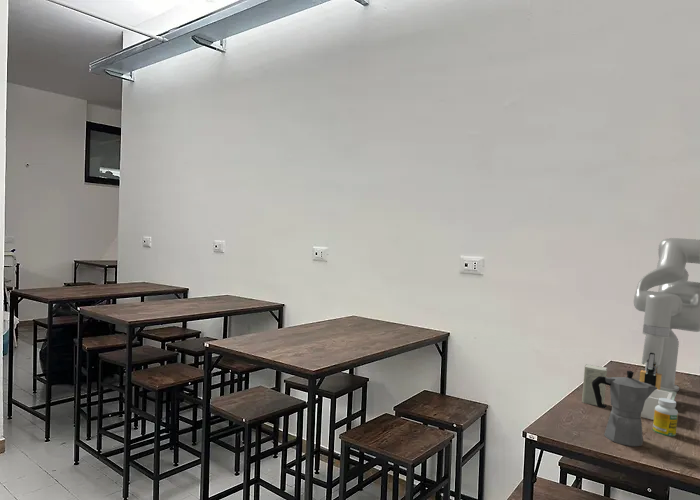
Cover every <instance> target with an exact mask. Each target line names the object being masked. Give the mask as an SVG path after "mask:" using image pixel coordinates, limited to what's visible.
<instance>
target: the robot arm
mask: <svg viewBox="0 0 700 500" xmlns="http://www.w3.org/2000/svg"><path fill="white" fill-rule="evenodd" d="M657 250H658V262H657V266H656V268H655V269H653V270H651V271H650V272H648V273H647V274H645V275H644V276H643V277H641V278H640V280H639V281H638V284H637V286H636V289H635V293H634V295H633V296H634V298H633V306H634V308H635V310H637V311H639V312H642V313H644V317H643V325H642V334H643V335H645V338H644V342H643V343H644V344H643V350H642V358H641V359H642V360H641V364H642V365H645V368H644V371H646V373H645V380H644V383H647V384H651V385H653V386H655V385H656V376H655V375H656V373H659V374H662V379H661V388H660V389H664V390H669V391H674V392H676V393H677V392H679V391H680V387H679V386H678V385H677V384H675V383H676V382H675V381H676V373H677V364H678V353H679V347H680V345H679V344H680V342H679V339H678V336H677V335H676V334H675V332H674V331H673V330H680V331H687V332H693V333H698V332H700V282H697V281H689V276H690V275H689V272H688V270H687V269H686V266H687V265H686V264H699V265H700V239H696V238H695V239H694V238H680V237H679V238H678V237H677V238H676V237H673V238H672V237H670V238H665V239H663V240H661V241H660V242H659V245H658V249H657ZM658 286H659V287H658ZM654 287H658V291H654V290H653V291H651V290H650V289H652V288H654Z"/></svg>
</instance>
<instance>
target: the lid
mask: <svg viewBox="0 0 700 500" xmlns="http://www.w3.org/2000/svg"><path fill="white" fill-rule="evenodd" d="M645 373H646V371H645V369H644V370H643V369H641V370H640V372H639V379H638V381H641V382H644V380H645ZM655 376H656V385H655V387H657V389H658V390H662V391H667V392H671V393H672V400H674V401H675V399H676V396H677V392H674V391H669V390H664V389H660V388H661V379H662V374H659V373H656V375H655Z"/></svg>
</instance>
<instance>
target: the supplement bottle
mask: <svg viewBox="0 0 700 500" xmlns="http://www.w3.org/2000/svg"><path fill="white" fill-rule="evenodd" d="M658 403H659V405H657V406H656V407H655V412H654V420H653V422H652V430H653V432H654V433H656V434H659V435H663V436H667V437H676V436H677V428H678V427H677V426H678V420H679V419H678V417H679V412H678V410H677V409H676V407H677V401H676V400H675V399H674V400H671V399H667V398H659V401H658Z"/></svg>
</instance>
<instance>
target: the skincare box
mask: <svg viewBox="0 0 700 500" xmlns="http://www.w3.org/2000/svg"><path fill="white" fill-rule="evenodd" d="M607 374H608V367H605V366H604V367H603V366H599V365H598V366H597V365H593V364H585V365H584V372H583V381H582V382H583V385H582V396H581V403H584V404H586V405H587V404H588V405H591V406H596V407H598V406H597V402H596V398H595V395H594V390H593V387H592V382H593V380H595V379H596V378H597V377H598V376H602V377H608V376H607ZM599 387H600V395H601V397H602V404H604V405H605V398H606V390H607V389H606V388H607V386H606V385H605V384H602V383H600V384H599Z"/></svg>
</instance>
